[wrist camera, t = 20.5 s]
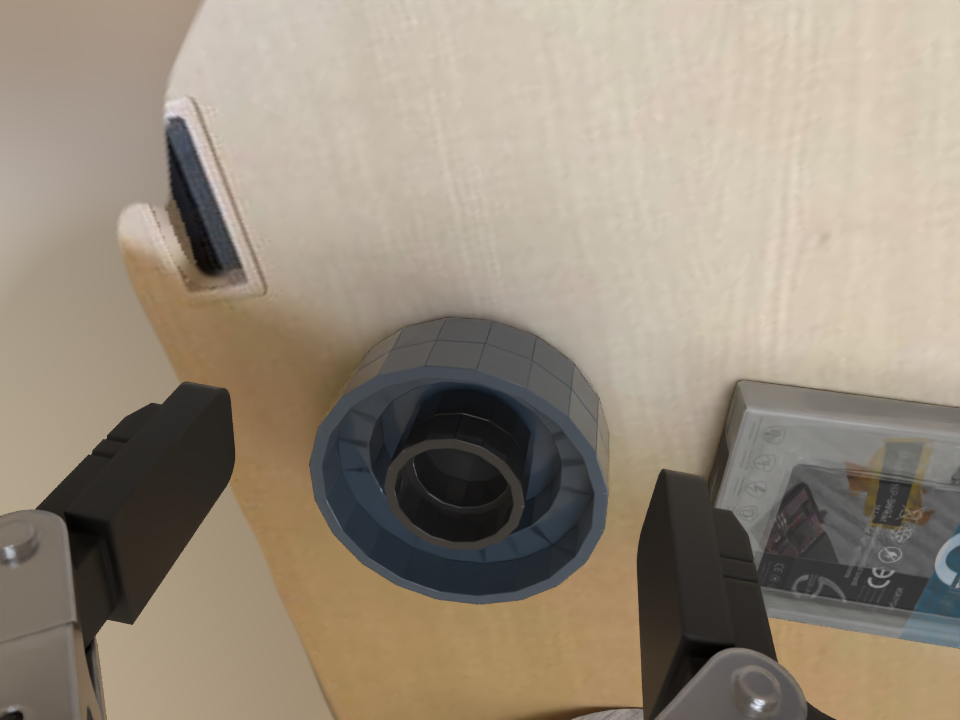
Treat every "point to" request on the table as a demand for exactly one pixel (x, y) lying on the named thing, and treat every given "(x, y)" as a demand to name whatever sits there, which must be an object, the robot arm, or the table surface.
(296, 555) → the table surface
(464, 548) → the black cup
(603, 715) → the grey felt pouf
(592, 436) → the grey bowl
